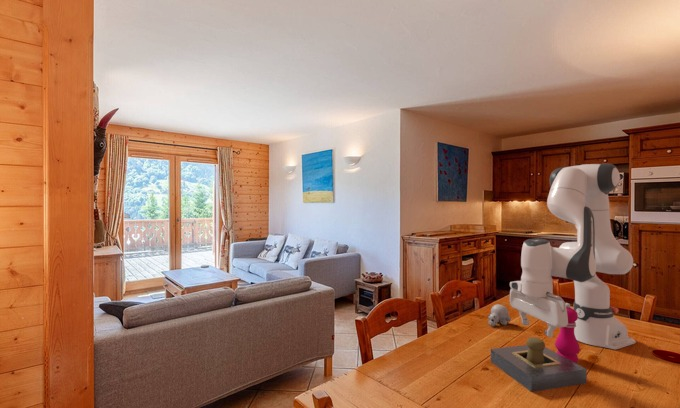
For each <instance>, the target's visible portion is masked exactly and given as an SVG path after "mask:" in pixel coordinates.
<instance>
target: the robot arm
mask: <svg viewBox="0 0 680 408" xmlns="http://www.w3.org/2000/svg"><path fill="white" fill-rule="evenodd" d="M620 178H621V175H620V172H619V168H618V167H617V166H616V165H614V164H612V163H603V162H602V163H590V164H589V163H588V164H587V163H585V164H580V165H578V164H577V165H572V166H566V167H565V166H562V167H558V168H555V169H553V171H552V172H551V173H550V176H549V180H548V182H549V186H550V189H549V193H548V195H547V200H546V207H547V208H548V210H549V212H550V213H551V214H552V215H553V216H555V217H556V218H558V219H559V220H563V221H565V222H567V223H570V224H573V225H574V226H575V229H576V231H577V234H576V240H577V241H567V242H563V243H561V245H559V247H556V246H555V247H554V246H552V245H551V243H550V241H549V240H548V239H545V238H541V237H540V238H539V237H537V238H536V237H535V238H528V239H526V240H524V241H523V244H522V247H521V256H520V267H521V269H522V270H521V271H522V272H521V276H520V280H514V281H510V282H509V287H510V290H509V303H510V304H509V305H510V306H511V307H512V308H513V309H515V310H518V315H519V317H520V318H521V324H522V325H524V326H529V325H530V319H529V318H528V316H527V315H529V316H531V317H532V318H536V319H537V320H539V321H542V322H544V323H546V325H547V329H544V336H546V337H548V338H553V336H554V331H555V330H556V329H558V328H560V329H561V327H566V326H567V325H568V316H567V310H566V306H565V304H566V302H565V301H564V299H563V298H562V297H561V296H559V295H556V294H554V293H553V289H554V288H553V278H552V277H559V278H563V279H568V280H571V281H573V284H574V301H573V309H574V310H575V311H576V312H577V314H578V319H577V320H576V321H575V322H576V327H575V328H574V334H575V337H576V340H577V342H580V343H583V344H587V345H590V346H593V347H594V346H595V347H599V348H600V347H601V348H607V349H611V350H615V351H616V350H619V349H623V348H625V347H628V346H631V345H634V344H636V343H637V342H636V340H635V339H634V338H632V337H631V336H629V335H628V328H627V326H626V325H625V324H624V323H623V322H621V321H620V320H619V319H617V318H616V317H615V316H614V313H615V314H618V312H619V308H618V307H614V306H610V305H611V304H610V303H611V302H610V300H611V297H610V296H611V291H610V288H609V285H607V284H606V283H605V282H604V281H603V280H602V279H600V278H599V277H598V275H597V273H603V274H607V275H626V274H628V272H630V271H631V269H632V268H633V266H634V258H633V255H632V254H631V252H630V251H629V250H628V249H626V248H625V247H624V246H623V245H621V244H620V243H619V242H618V240H617V239H616V237H615V236H614V234H613V231H612V228H611V218H610V217H611V216H610V211H611V210H610V199H609V193H610V192H613V191H614V190H615V189H616V188H617V187H618V186H619V182H620V180H621V179H620Z"/></svg>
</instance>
